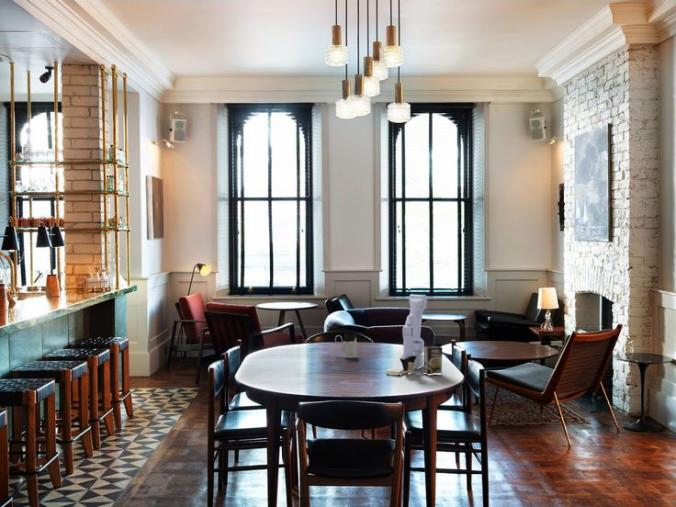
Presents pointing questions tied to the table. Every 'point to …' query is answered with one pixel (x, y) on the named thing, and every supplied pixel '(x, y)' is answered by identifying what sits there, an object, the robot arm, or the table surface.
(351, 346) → the glass holder
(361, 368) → the table surface
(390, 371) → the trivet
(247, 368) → the table surface
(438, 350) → the coffee box
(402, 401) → the table surface
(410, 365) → the block
